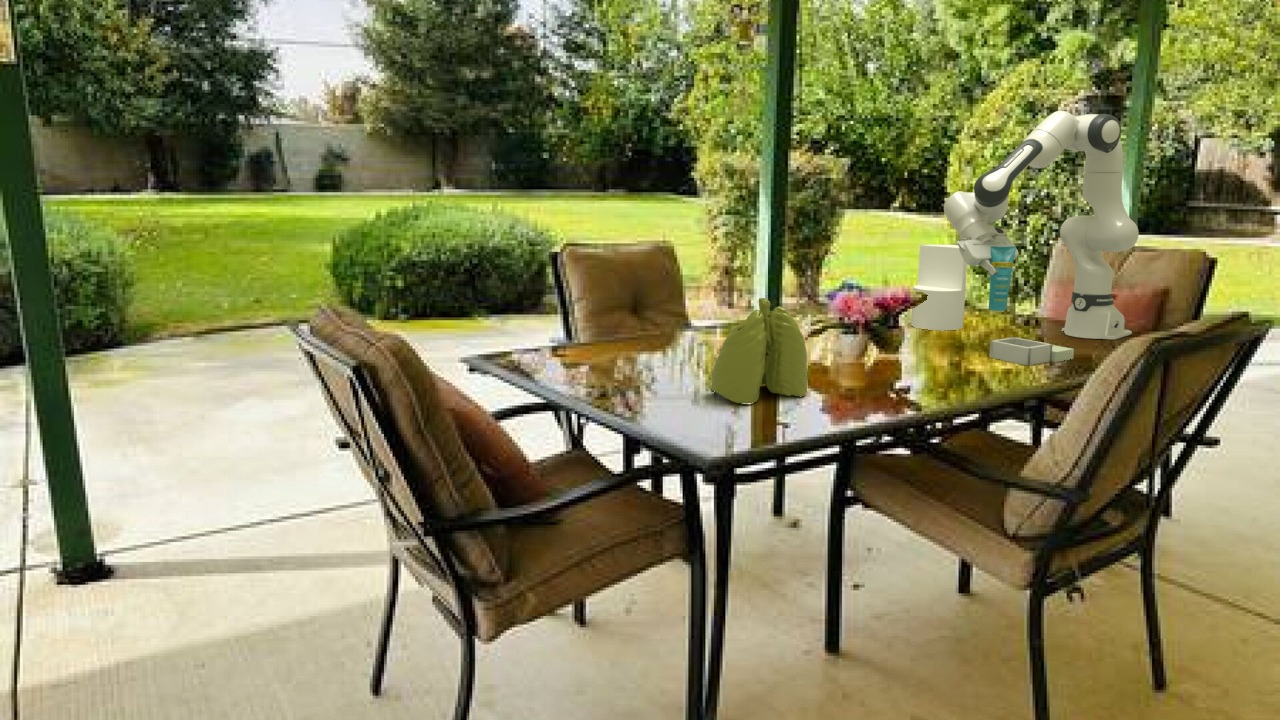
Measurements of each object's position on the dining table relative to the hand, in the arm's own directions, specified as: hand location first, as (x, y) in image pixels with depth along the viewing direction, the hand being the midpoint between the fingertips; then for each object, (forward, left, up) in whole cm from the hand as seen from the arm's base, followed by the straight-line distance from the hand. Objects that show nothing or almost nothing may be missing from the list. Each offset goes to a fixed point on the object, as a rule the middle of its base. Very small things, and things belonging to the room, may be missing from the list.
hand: (1003, 272), depth 269 cm
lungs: (+92, +2, -24) cm, 96 cm away
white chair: (-19, -40, -24) cm, 50 cm away
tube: (0, -1, -12) cm, 12 cm away
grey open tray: (-1, +10, -24) cm, 26 cm away
